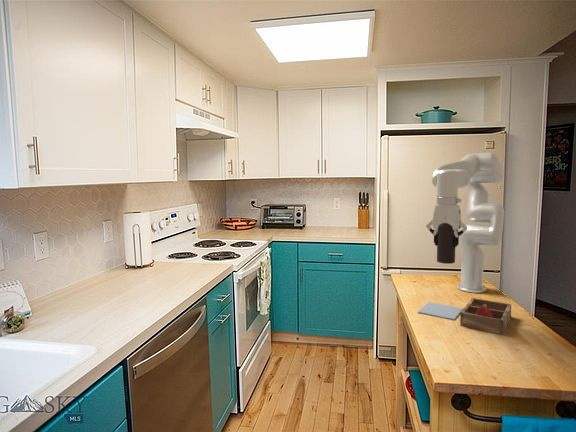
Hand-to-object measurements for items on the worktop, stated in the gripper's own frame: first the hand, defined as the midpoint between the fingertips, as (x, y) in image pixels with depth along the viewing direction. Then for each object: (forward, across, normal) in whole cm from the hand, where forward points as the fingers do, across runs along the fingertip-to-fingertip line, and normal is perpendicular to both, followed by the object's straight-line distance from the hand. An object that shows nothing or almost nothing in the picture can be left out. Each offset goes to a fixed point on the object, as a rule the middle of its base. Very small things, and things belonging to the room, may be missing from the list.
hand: (445, 245), depth 152 cm
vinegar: (+7, 0, 0) cm, 7 cm away
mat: (+28, +1, 0) cm, 28 cm away
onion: (+28, -16, +7) cm, 32 cm away
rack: (+28, -16, +2) cm, 32 cm away
